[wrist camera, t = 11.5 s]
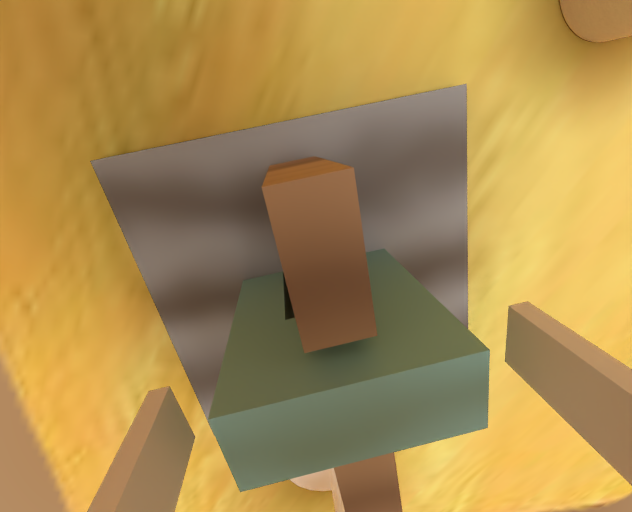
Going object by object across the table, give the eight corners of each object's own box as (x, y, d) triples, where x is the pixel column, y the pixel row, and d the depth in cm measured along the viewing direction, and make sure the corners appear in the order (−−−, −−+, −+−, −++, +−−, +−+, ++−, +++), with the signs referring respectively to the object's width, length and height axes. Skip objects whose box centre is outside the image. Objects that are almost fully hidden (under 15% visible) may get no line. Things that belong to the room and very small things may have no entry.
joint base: (101, 160, 16) (-144, 180, 7) (455, 87, 17) (674, 16, 8) (216, 423, 23) (176, 609, 14) (460, 363, 24) (575, 499, 15)
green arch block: (242, 280, 18) (207, 419, 9) (384, 248, 19) (489, 349, 9) (257, 327, 20) (240, 491, 10) (389, 296, 20) (487, 427, 11)
